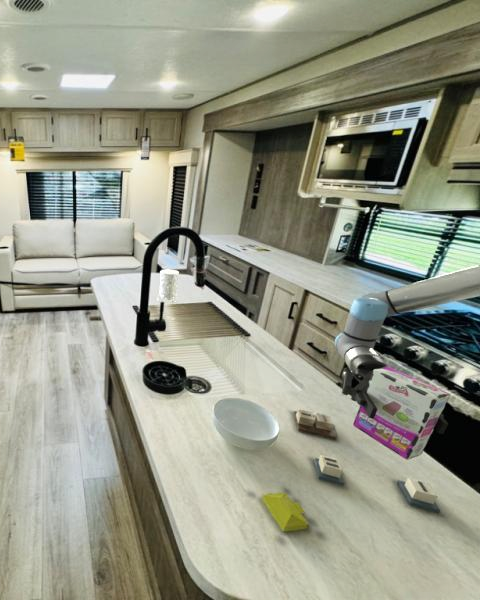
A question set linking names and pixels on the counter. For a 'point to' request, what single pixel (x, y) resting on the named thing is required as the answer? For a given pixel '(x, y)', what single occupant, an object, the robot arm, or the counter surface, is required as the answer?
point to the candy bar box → (401, 411)
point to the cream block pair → (314, 424)
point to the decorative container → (168, 284)
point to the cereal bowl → (245, 423)
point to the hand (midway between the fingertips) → (407, 420)
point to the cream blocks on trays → (412, 489)
